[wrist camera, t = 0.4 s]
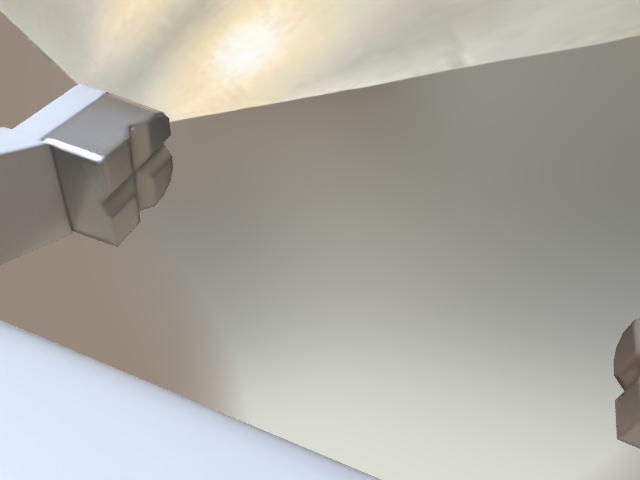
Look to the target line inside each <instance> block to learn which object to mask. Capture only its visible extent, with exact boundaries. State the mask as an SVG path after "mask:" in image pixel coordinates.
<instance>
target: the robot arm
mask: <svg viewBox="0 0 640 480" xmlns="http://www.w3.org/2000/svg"><path fill="white" fill-rule="evenodd" d="M170 135H171V132H170V124H169V118H168V117H167V116H166V115H165V114H164V113H163V112H161V111H158V110H155V109H153V108H150V107H147V106H144V105H142V104H139V103H136V102H134V101H131V100H128V99H125V98H123V97H120V96H117V95H114V94H110V93H108V92H105V91H102V90H100V89H97V88H94V87H91V86H88V85H76V86H75V87H73V88H72V89H70V90H69V91H67V92H66V93H65V94H63V95H62V96H60V97H59V98H57V99H56V100H54V101H53V102H51V103H50V104H49V105H47V106H46V107H44V108H43V109H41V110H40V111H38V112H37V113H35V114H34V115H33V116H31V117H30V118H28V119H27V120H25V121H24V122H22V123H21V124H19V125H18V126H17V127H15V128H14V129H12V130H11V129H8V128H5V127H1V128H0V265H2V264H4V263H6V262H8V261H10V260H13V259H15V258H18V257H20V256H22V255H24V254H27V253H29V252H31V251H34V250H36V249H38V248H40V247H43V246H45V245H47V244H49V243H52V242H54V241H56V240H58V239H61V238H63V237H66V236H68V235H70V234H72V231H74V232H77V233H80V234H82V235H85V236H88V237H91V238H94V239H97V240H99V241H102V242H105V243H108V244H111V245H114V246H116V247H118V246H119V245H120V244H121V242H122V241H123V240H124V239H125V238H126V237H127V236H128V235H129V234H130V233H131V232H132V230H133V229H134V228H135V227H136V226H137V225H138V224H139V223H140V212H139V211H141V210H144V209H147V208H150V207H153V206H155V205H156V204H157V203H158V202H159V200H160V199H161V198H162V197H163V196H164V194H165V192H166V189H167V187H168V185H169V183H170V181H171V175H172V169H173V163H172V156H171V154H170V152H169V151H168V149H167V148H166V146H165V145H164V142H165V141H166V139H168V138H169V137H170ZM614 376H615V378H616V379H617V381H618V382H619V384H620V385H621V387H622V388H623V389H624V393H622V394H621V395H620V396H619V397H618V398H617V399H616V400H615V409H616V427H617V439H618V440H620V441H623V442H625V443H628V444H630V445H632V446H635V447H637V448H640V318H639V319H636V320H634V321H633V322H632V323H631V325H630V326H629V327H628V328H627V329H626V330H625V331H624V333H623V334H622V337H621V339H620V341H619V343H618V345H617V348H616V352H615V358H614ZM0 480H380V479H378V478H376V477H373V476H371V475H369V474H366V473H364V472H361V471H359V470H357V469H354V468H352V467H350V466H347V465H345V464H342V463H340V462H338V461H335V460H333V459H331V458H328V457H326V456H323V455H321V454H318V453H316V452H314V451H311V450H309V449H307V448H304V447H302V446H299V445H297V444H295V443H292V442H290V441H288V440H285V439H283V438H280V437H278V436H275V435H273V434H271V433H268V432H266V431H263V430H261V429H259V428H257V427H254V426H252V425H249V424H247V423H244V422H242V421H240V420H237V419H235V418H233V417H230V416H228V415H225V414H223V413H221V412H218V411H216V410H214V409H211V408H209V407H206V406H204V405H201V404H199V403H197V402H195V401H192V400H190V399H187V398H185V397H183V396H180V395H178V394H175V393H173V392H171V391H168V390H166V389H164V388H161V387H158V386H156V385H154V384H152V383H149V382H147V381H144V380H142V379H140V378H137V377H135V376H132V375H130V374H128V373H125V372H123V371H121V370H118V369H116V368H114V367H111V366H109V365H106V364H104V363H102V362H99V361H97V360H94V359H92V358H89V357H87V356H85V355H83V354H80V353H78V352H75V351H73V350H71V349H68V348H66V347H63V346H61V345H59V344H56V343H54V342H52V341H49V340H47V339H44V338H42V337H40V336H37V335H35V334H33V333H30V332H27V331H25V330H23V329H21V328H18V327H16V326H14V325H11V324H9V323H6V322H4V321H2V320H0Z"/></svg>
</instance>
